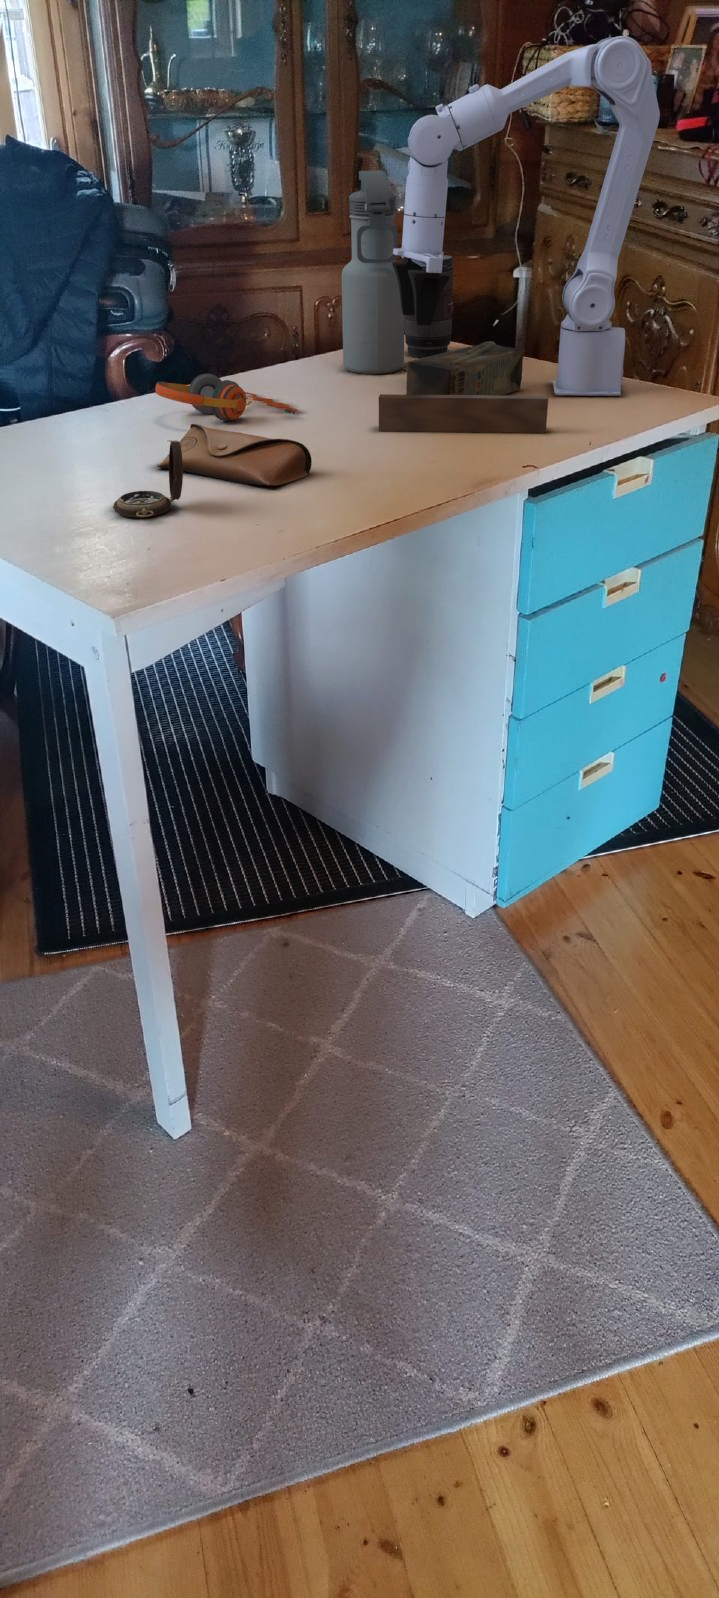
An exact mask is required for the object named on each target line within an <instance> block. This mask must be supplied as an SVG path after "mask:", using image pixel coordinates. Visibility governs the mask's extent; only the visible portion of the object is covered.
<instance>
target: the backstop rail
mask: <svg viewBox="0 0 719 1598" xmlns="http://www.w3.org/2000/svg"><path fill="white" fill-rule="evenodd" d="M548 409H549V396H548V395H502V396H501V395H406V394H395V393H394V394H386V393H385V394H383V393H380V394H379V395H378V432H417V433H418V432H420V433H421V432H423V433H424V432H427V433H428V432H429V433H503V434H504V433H505V434H512V433H513V434H546V433H547V424H548V423H547V422H548Z"/></svg>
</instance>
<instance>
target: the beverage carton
mask: <svg viewBox="0 0 719 1598" xmlns="http://www.w3.org/2000/svg"><path fill="white" fill-rule="evenodd" d="M523 361H524V350H523V349H521V348H516V347H510V346H503V345H498V344H496V343H495V342H494V341H484V342H482V343H479V344H475V345H472V346H467V347H462V348H458V349H453V350H449V351H447V352H445V353H441V354H437V355H433V356H429V357H424V358H421V357H419V358H417V359H413V360H411V361H407V364H406V392H405V395H501V396H506V395H508V394H512V393H515V392H517V391H520V389H521V384H522V379H523Z"/></svg>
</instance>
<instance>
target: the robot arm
mask: <svg viewBox="0 0 719 1598" xmlns="http://www.w3.org/2000/svg"><path fill="white" fill-rule="evenodd" d="M652 70H653V69H652V62H651V61H650V58H649V57H648V56H647V54H646V53H645V51H644V50H643V48H642V46H641V45H640V43H639V42H638V41H636V40H635V39H634V38H632V37H630V36H626V35H619V36H615V37H606V38H604V39H603V38H602V39H601V40H600V41H598V42H597V43H593V44H588V45H585V46H582V47H579V48H576V49H574V50H570V51H568V52H565V53H563V54H561V55H560V56H558V57H555V58H554V59H552V60H550V61H549V62H547V63H545V64H543V65H541V66H540V67H538V68H536V69H534V70H533V71H531V72H529V73H528V74H526V75H523V76H522V77H521V78H519V79H517V80H515V81H514V82H511V83H509V84H508V85H506V86H504V87H503V88H501V89H500V88H497V87H496V86H493V85H491V84H484V85H482V86H481V87H480V85H479V84H478V83H476V84H474V85H471V86H470V87H468V92H469V93H467V94H465V95H464V96H461V97H460V98H458V99H456V100H454V101H452V102H450V103H448V104H446V105H444V104H443V103H440V104H438V105H436V106H435V111H436V114H437V115H436V114H426V115H425V116H421V117H420V118H418V120H416V121H415V122H414V124H412V127H411V129H410V131H409V135H408V137H407V145H408V148H409V152H410V153H411V156H409V160H408V163H407V171H408V175H407V176H406V179H405V192H404V193H405V194H404V209H403V222H402V223H403V224H402V237H401V247H400V248H399V247H398V248H394V249H393V254H395V255H397V256H399V257H401V258H402V261H396V260H395V261H394V262H392V265H393V268H394V271H395V273H396V277H397V280H398V285H399V291H400V300H401V308H402V313H403V315H404V316H405V315H415V321H416V324H417V325H431V324H432V321H433V318H434V314H435V311H436V307H437V304H438V301H439V298H440V296H441V293H442V291H443V289H444V287H445V286H446V284H447V282H448V281H449V278H450V275H449V274H448V273H442V263H443V255H444V251H443V246H444V237H445V236H444V235H445V222H446V212H447V211H446V210H447V199H448V188H449V179H448V178H447V176H448V165H449V164H448V163H449V158H450V156H451V154H452V152H453V150H457V151H458V152H462V151H464V150H465V149H468V148H469V147H471V146H473V145H475V144H478V143H479V142H482V141H483V140H485V139H487V138H488V137H491V136H493V135H494V134H496V133H498V132H501V131H502V130H504V128H505V125H506V123H507V120H508V117H509V115H510V114H511V113H514V112H516V111H518V110H520V109H522V108H524V107H526V106H528V105H530V104H532V103H534V102H537V101H538V100H541V99H544V98H545V97H547V96H549V95H551V94H553V93H556V92H558V91H559V90H562V89H564V88H567V87H570V88H571V87H574V88H575V87H576V88H593V89H594V91H596V92H597V94H599V95H600V96H601V97H602V98H603V99H605V101H607V103H608V105H609V107H610V110H611V111H612V113H613V115H614V116H615V119H616V120H617V122H618V125H619V126H618V130H617V134H616V136H615V142H614V144H613V148H612V151H611V155H610V159H609V162H608V166H607V169H606V172H605V176H604V179H603V183H602V185H601V190H600V194H599V197H598V200H597V204H596V208H595V211H594V214H593V218H592V222H591V225H590V230H589V232H588V236H587V239H586V243H585V246H584V249H583V252H582V253H581V255H580V257H579V259H578V261H577V265H576V268H575V271H574V272H573V274H572V275H571V277H570V278H569V279H568V281H567V282H566V283H565V285H564V287H563V290H562V294H561V298H562V299H561V300H562V305H563V308H564V309H565V311H566V313H567V314H566V315H565V318H564V319H563V320H562V321H561V322H560V330H559V331H560V332H559V346H558V361H557V373H556V374H557V375H556V379H555V380H552V389H553V395H555V396H589V397H591V396H597V397H599V396H602V397H604V396H605V397H606V396H607V397H620V396H621V395H622V392H621V390H622V382H623V379H624V359H625V350H626V349H625V348H626V330H625V328H624V327H617V326H612V323H613V322H611V320H610V319H611V317H612V316H613V314H614V311H615V307H616V299H615V284H616V281H617V278H618V264H619V262H618V261H619V258H620V254H621V250H622V247H623V243H624V241H625V237H626V233H627V230H628V227H629V223H630V221H631V217H632V215H633V214H632V213H633V210H634V206H635V203H636V200H637V197H638V194H639V190H640V187H641V184H642V179H643V177H644V176H643V175H644V173H645V169H646V167H647V163H648V159H649V156H650V153H651V149H652V147H653V144H654V143H653V142H654V140H655V136H656V133H657V129H658V126H659V122H660V117H661V111H660V107H659V101H658V98H657V92H656V87H655V83H654V79H653V71H652Z"/></svg>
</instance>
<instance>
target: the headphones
mask: <svg viewBox="0 0 719 1598" xmlns="http://www.w3.org/2000/svg"><path fill="white" fill-rule="evenodd" d="M155 394H156V395H158V396H159V397H162V398H164V399H167V400H171V401H175V402H179V403H182V404H187V405H191V406H192V407H193V408H194V409H195V410H196V411H197V412H199V413H201V414H204V415H212V414H213V415H214V416H215V418H217V419H218V420H220V421H224V422H230V421H233V420H237V419H239V418H240V417H241V416H243V414H244V412H245V410H246V407H247V406H249V405H251V404H252V402H253V401H255V402H256V401H257V402H262V403H265V406H268V407H274V408H277V409H278V408H279V409H283V411H284V412H285V413H288V414H293V415H295V414H296V413H295V412H298V411H299V409H298V408H295V407H290V405H289V404H286V403H283V402H278V401H277V402H276V401H274V399H273V398H266V397H258V396H257V394H256V393H253V392H247V391H245V390H244V389H243V387H241V386H240V385H239V384H238V383H237V382H236V381H233V380H229V379H225V380H222V379H221V378H220V377H218V376H217V375H215V374H213V373H202V374H199V375H197V376H196V377H194V378H193V379H192V381H190V384H189V385H188V384H183V383H171V382H167V381H157V382H156V384H155ZM247 395H250V397H247ZM251 398H252V399H251ZM247 400H248V401H247Z"/></svg>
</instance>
